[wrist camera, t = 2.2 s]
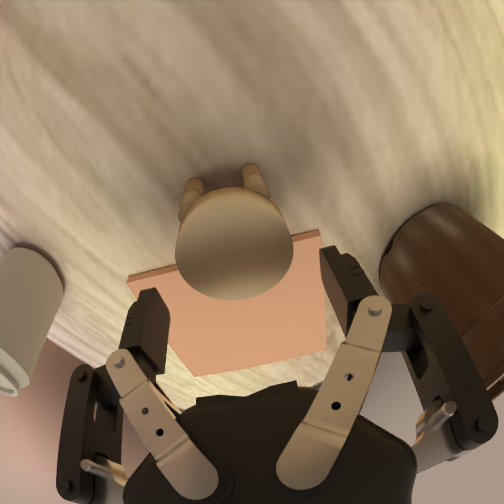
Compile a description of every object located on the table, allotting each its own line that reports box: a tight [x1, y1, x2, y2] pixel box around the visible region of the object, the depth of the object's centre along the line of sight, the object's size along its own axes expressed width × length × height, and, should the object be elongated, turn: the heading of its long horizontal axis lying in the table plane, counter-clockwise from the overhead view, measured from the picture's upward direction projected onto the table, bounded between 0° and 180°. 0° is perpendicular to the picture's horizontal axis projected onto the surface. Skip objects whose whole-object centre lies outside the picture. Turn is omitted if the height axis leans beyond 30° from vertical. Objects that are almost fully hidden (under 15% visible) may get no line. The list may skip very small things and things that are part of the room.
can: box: [0, 247, 64, 397], centre depth 16 cm, size 8×8×12 cm
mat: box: [127, 230, 326, 377], centre depth 26 cm, size 16×16×1 cm
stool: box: [175, 163, 294, 300], centre depth 17 cm, size 6×6×6 cm
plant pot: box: [380, 203, 504, 401], centre depth 18 cm, size 16×16×16 cm
